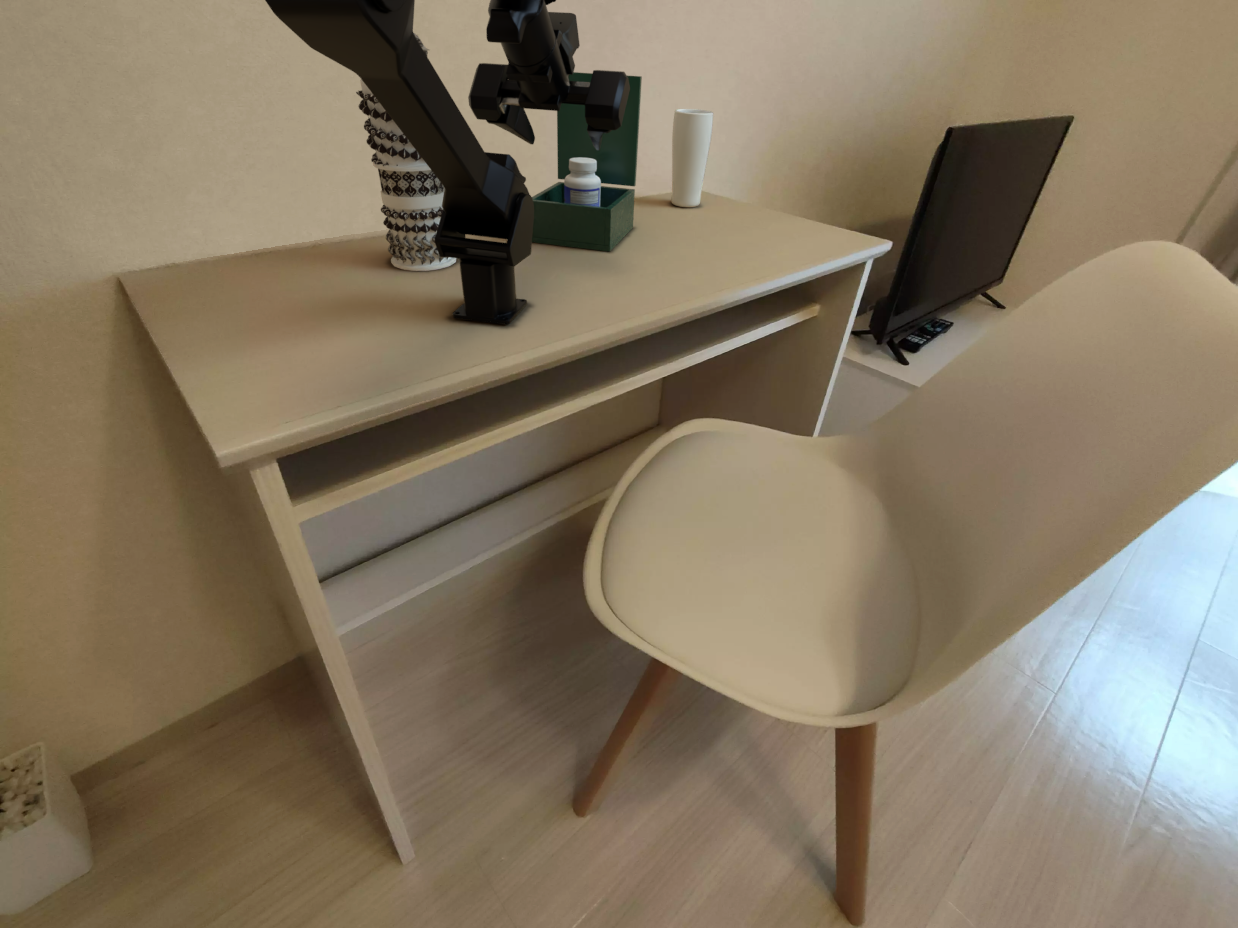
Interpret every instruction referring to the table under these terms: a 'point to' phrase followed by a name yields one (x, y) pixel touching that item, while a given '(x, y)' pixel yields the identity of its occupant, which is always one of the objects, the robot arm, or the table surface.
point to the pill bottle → (582, 183)
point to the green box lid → (616, 145)
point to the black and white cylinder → (404, 190)
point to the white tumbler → (690, 154)
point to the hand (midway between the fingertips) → (565, 144)
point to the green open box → (583, 219)
